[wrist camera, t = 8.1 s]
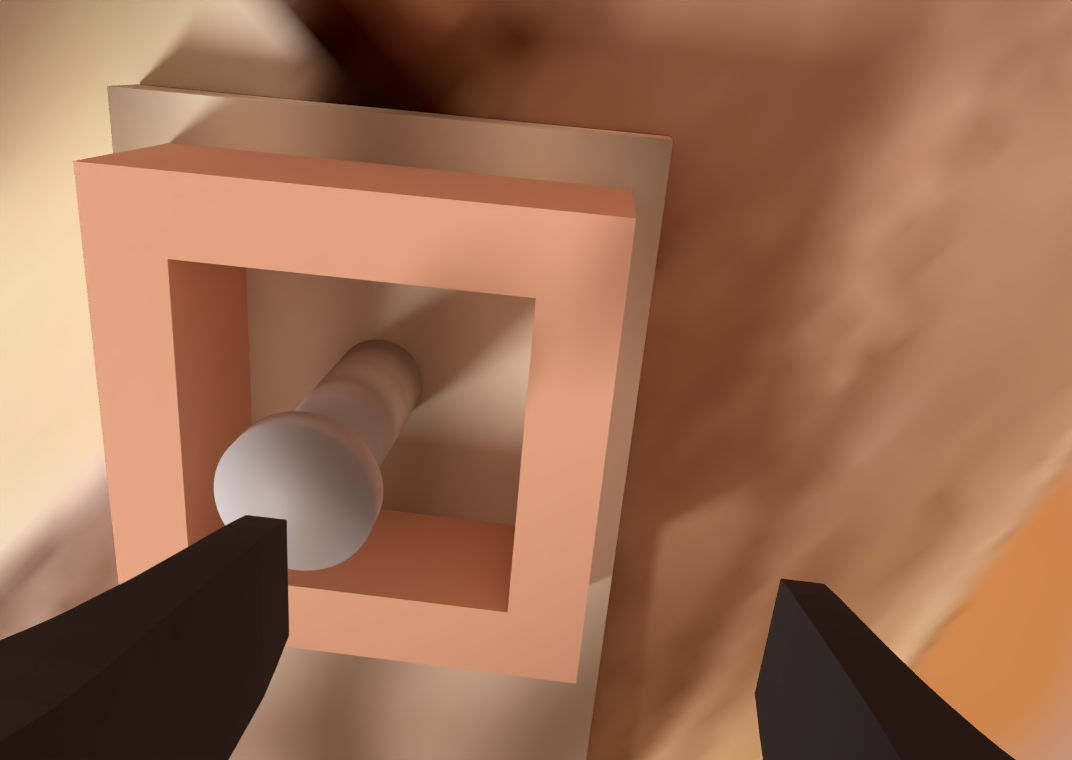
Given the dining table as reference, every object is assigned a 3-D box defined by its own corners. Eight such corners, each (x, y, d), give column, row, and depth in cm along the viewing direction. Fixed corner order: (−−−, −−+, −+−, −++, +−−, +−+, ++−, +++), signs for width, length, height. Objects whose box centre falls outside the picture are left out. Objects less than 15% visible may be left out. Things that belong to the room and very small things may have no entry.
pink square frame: (195, 541, 22) (123, 626, 19) (168, 142, 18) (73, 161, 15) (581, 588, 21) (576, 683, 18) (631, 189, 18) (636, 218, 15)
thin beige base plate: (188, 739, 26) (45, 967, 19) (136, 84, 19) (-109, 98, 13) (578, 791, 25) (567, 1044, 19) (669, 136, 19) (701, 178, 12)
